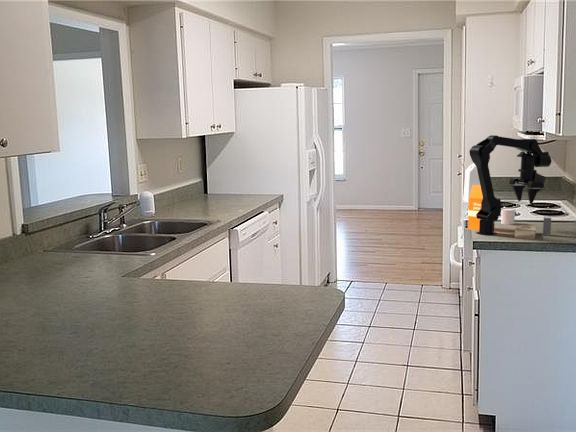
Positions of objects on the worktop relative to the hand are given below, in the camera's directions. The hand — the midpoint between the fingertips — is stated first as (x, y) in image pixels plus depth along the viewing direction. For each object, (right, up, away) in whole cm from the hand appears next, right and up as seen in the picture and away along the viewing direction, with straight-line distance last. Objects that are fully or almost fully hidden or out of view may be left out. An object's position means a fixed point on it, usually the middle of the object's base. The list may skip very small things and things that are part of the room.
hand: (525, 202), depth 282 cm
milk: (+7, +2, +100) cm, 100 cm away
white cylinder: (0, -10, +22) cm, 24 cm away
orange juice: (-17, -12, +10) cm, 23 cm away
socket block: (-3, -15, -8) cm, 17 cm away
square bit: (+6, -15, -8) cm, 18 cm away
